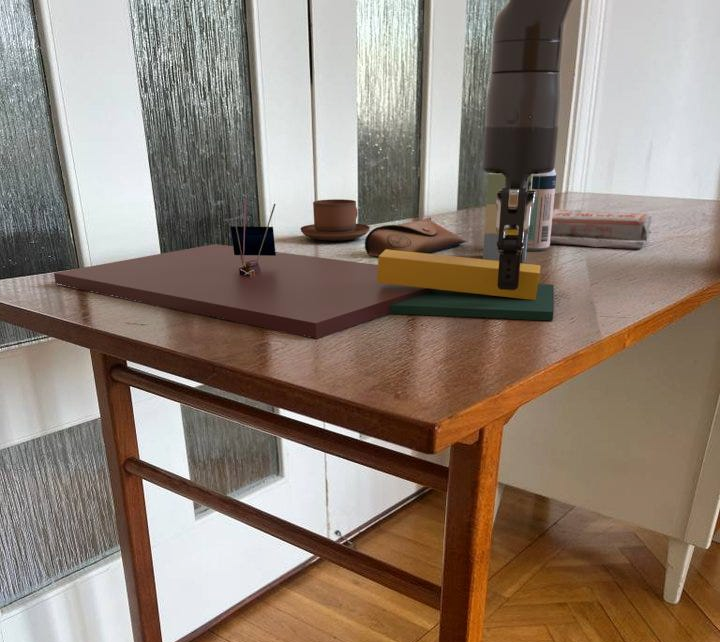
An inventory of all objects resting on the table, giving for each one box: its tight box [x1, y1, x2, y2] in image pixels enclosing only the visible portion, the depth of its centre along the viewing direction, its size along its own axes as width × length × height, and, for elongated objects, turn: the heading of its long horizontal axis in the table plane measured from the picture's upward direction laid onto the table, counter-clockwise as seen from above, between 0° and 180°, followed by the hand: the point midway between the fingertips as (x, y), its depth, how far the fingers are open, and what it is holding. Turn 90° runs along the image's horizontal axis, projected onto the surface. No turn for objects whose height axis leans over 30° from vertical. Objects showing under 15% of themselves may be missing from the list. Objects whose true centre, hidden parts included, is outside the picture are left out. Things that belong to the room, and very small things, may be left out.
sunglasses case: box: [364, 216, 467, 258], centre depth 120 cm, size 18×7×7 cm
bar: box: [377, 249, 541, 300], centre depth 86 cm, size 18×4×3 cm, turn 77°
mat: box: [389, 283, 555, 321], centre depth 87 cm, size 22×14×1 cm, turn 77°
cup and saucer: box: [300, 198, 371, 242], centre depth 130 cm, size 12×12×6 cm
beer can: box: [526, 168, 557, 252], centre depth 117 cm, size 5×5×12 cm
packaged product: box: [550, 208, 652, 250], centre depth 124 cm, size 18×5×10 cm
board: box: [53, 198, 437, 339], centre depth 94 cm, size 45×28×10 cm, turn 52°
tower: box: [482, 173, 533, 264], centre depth 109 cm, size 6×6×12 cm
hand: (509, 281), depth 85 cm, fingers open, 8 cm apart
